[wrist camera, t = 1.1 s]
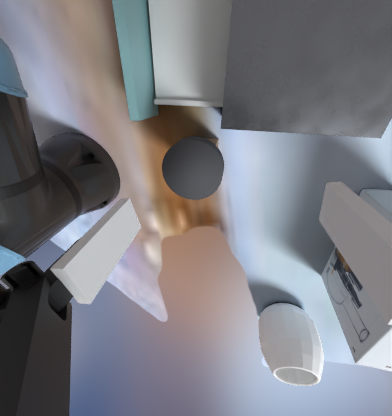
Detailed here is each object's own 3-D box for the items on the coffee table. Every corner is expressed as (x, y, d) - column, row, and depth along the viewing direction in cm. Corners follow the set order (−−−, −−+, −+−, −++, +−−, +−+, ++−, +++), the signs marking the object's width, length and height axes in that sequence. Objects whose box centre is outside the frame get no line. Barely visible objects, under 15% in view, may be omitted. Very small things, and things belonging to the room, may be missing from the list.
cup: (313, 325, 49) (334, 394, 38) (261, 325, 54) (267, 386, 43) (309, 295, 44) (333, 365, 32) (252, 297, 48) (255, 359, 37)
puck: (169, 188, 28) (164, 196, 25) (166, 134, 23) (159, 138, 21) (221, 194, 26) (219, 202, 24) (227, 138, 22) (225, 143, 20)
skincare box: (357, 187, 29) (454, 267, 16) (398, 189, 28) (539, 276, 15) (317, 276, 40) (355, 366, 27) (345, 279, 39) (400, 375, 26)
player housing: (225, 119, 28) (220, 128, 21) (245, -85, 18) (248, -189, 11) (343, 125, 25) (380, 138, 19) (440, -107, 16) (590, -255, 9)
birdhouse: (151, 114, 29) (130, 120, 23) (133, -72, 20) (91, -138, 14) (253, 119, 27) (257, 127, 21) (289, -89, 17) (313, -177, 12)
